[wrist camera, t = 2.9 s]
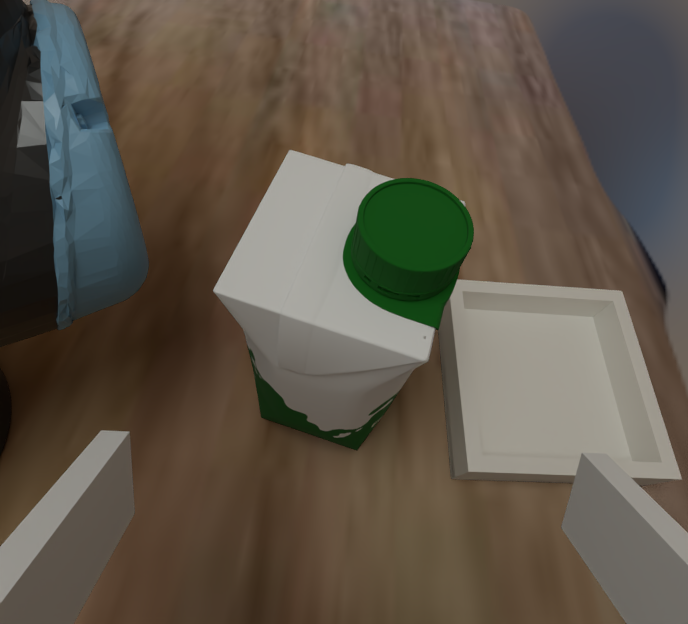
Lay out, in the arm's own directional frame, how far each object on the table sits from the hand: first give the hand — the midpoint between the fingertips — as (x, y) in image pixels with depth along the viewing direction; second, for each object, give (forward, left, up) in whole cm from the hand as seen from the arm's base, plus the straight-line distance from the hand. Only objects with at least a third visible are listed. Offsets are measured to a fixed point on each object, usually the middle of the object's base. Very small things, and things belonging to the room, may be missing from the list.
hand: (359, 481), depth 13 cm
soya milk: (-1, +9, -18) cm, 20 cm away
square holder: (+16, +10, -18) cm, 25 cm away
